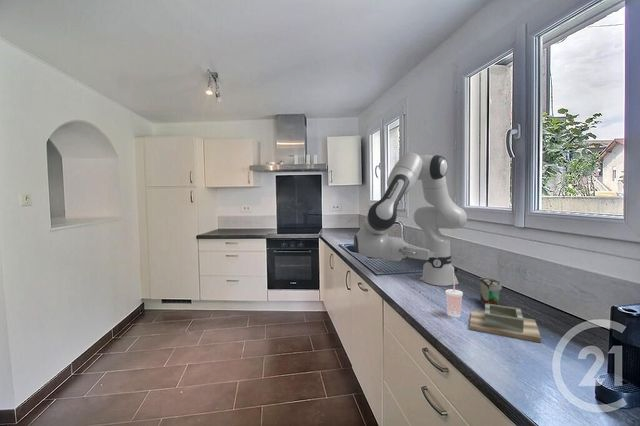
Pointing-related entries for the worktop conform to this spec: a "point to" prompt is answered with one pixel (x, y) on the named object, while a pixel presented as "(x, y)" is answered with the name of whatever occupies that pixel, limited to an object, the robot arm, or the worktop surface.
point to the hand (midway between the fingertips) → (432, 253)
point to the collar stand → (504, 323)
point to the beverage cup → (454, 302)
